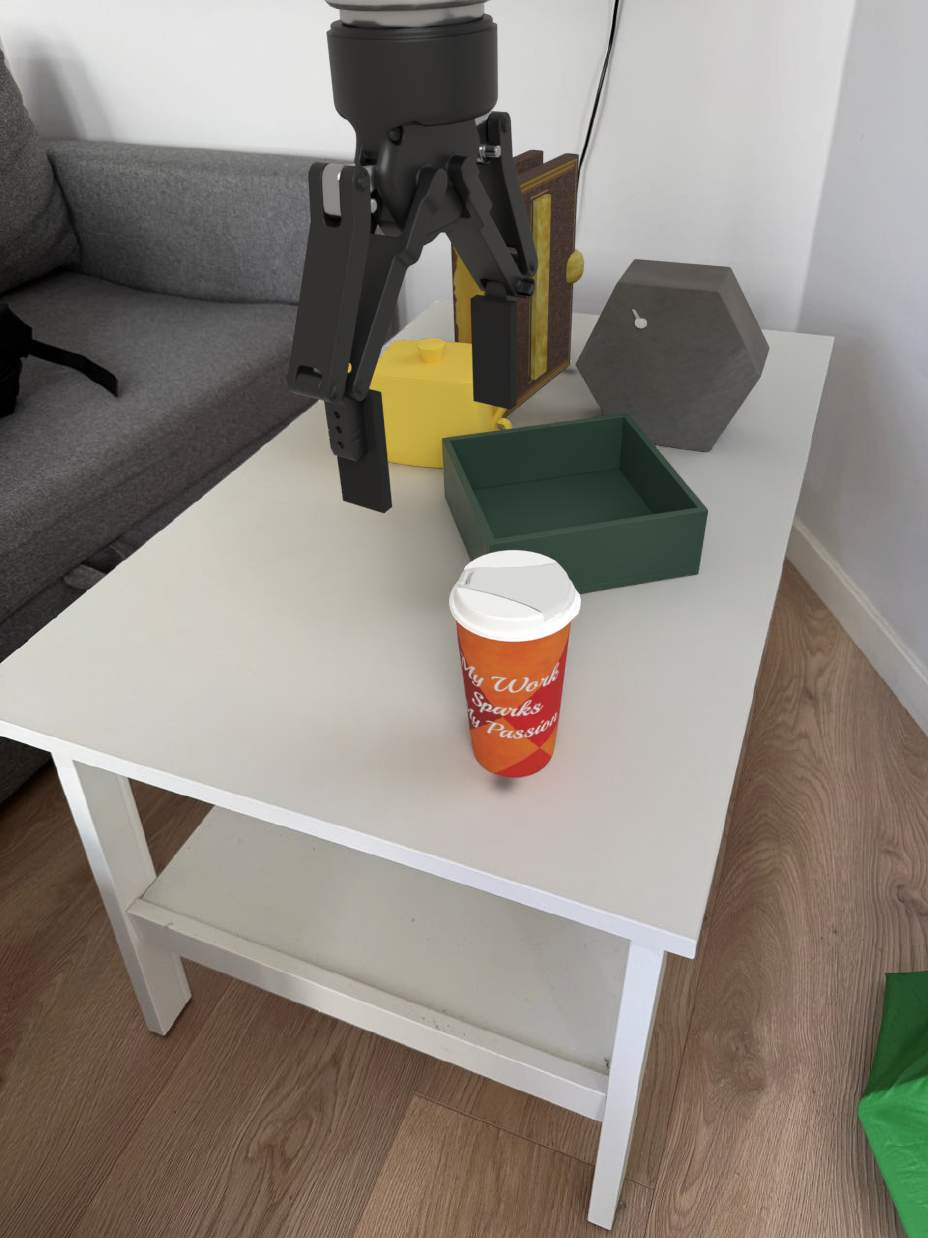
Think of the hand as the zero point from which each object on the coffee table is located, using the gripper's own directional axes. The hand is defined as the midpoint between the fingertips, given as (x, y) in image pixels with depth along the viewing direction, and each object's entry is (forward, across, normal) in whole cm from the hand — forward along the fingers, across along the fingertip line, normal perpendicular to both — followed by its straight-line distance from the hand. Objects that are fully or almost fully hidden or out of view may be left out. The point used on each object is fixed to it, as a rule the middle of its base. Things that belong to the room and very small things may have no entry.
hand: (436, 449), depth 53 cm
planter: (+24, -53, -4) cm, 58 cm away
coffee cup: (+24, -1, +4) cm, 24 cm away
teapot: (+24, -38, -27) cm, 52 cm away
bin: (+24, -28, -5) cm, 37 cm away
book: (+24, -56, -25) cm, 66 cm away
